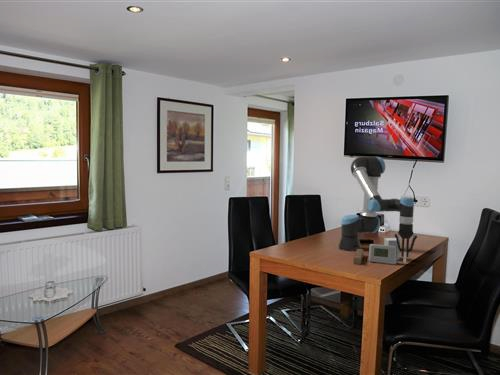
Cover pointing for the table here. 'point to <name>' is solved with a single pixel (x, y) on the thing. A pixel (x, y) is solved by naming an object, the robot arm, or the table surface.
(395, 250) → the digital clock
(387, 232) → the table surface
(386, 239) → the supplement box
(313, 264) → the table surface
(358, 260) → the walnut batten
